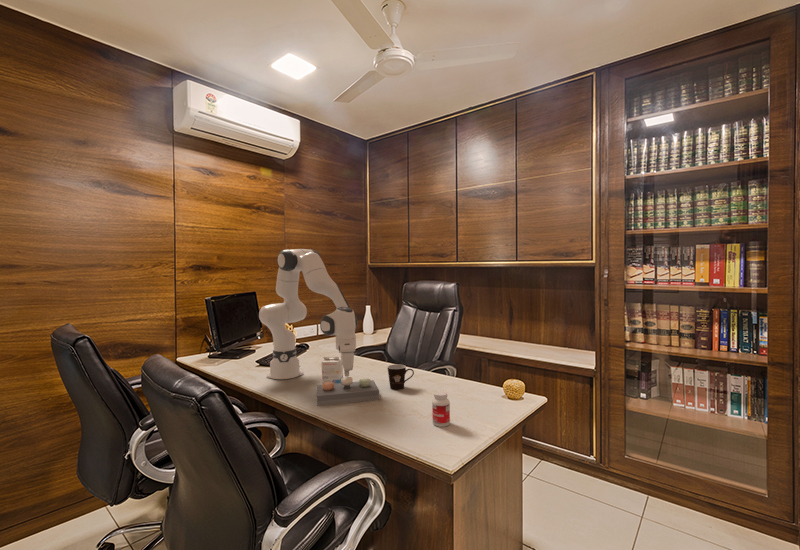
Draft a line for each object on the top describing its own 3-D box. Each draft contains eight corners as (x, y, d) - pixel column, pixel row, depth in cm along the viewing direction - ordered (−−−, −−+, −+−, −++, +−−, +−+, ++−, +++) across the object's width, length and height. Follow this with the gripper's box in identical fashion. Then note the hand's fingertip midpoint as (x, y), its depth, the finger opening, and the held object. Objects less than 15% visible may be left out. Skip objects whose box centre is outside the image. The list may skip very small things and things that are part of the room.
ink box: (343, 380, 188) (342, 354, 187) (339, 385, 179) (338, 358, 179) (326, 380, 189) (326, 354, 188) (321, 385, 180) (321, 358, 180)
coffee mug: (384, 389, 171) (384, 368, 171) (392, 384, 179) (391, 363, 179) (408, 392, 167) (407, 370, 167) (414, 386, 175) (414, 365, 175)
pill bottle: (429, 424, 132) (428, 393, 132) (438, 418, 137) (438, 389, 137) (443, 429, 128) (443, 397, 128) (453, 423, 133) (452, 392, 133)
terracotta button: (322, 392, 163) (322, 382, 163) (334, 391, 164) (333, 381, 164) (322, 396, 158) (322, 385, 158) (334, 394, 159) (334, 384, 159)
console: (316, 394, 168) (316, 385, 167) (373, 388, 173) (373, 380, 173) (317, 405, 153) (316, 396, 153) (379, 399, 159) (379, 390, 159)
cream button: (340, 387, 165) (340, 377, 165) (352, 386, 166) (351, 376, 166) (341, 390, 160) (341, 380, 160) (353, 389, 161) (353, 379, 161)
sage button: (358, 388, 167) (358, 379, 167) (369, 387, 168) (369, 378, 168) (360, 392, 162) (360, 382, 162) (371, 391, 163) (371, 381, 163)
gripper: (337, 340, 172) (337, 370, 172) (340, 349, 152) (341, 383, 152) (350, 339, 174) (351, 369, 174) (355, 348, 154) (356, 381, 154)
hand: (346, 375), depth 163 cm, fingers closed
